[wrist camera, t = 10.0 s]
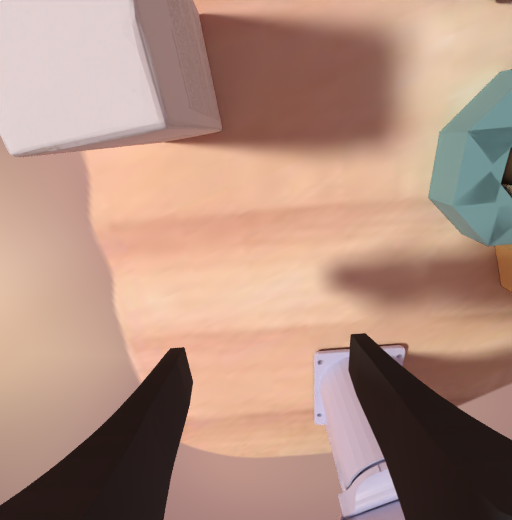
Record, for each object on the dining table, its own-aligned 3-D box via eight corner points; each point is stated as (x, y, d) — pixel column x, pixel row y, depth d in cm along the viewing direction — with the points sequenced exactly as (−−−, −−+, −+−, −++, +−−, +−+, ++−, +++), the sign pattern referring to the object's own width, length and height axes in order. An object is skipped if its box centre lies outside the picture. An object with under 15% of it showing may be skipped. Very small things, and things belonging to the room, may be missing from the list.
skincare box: (124, 28, 15) (-225, -268, 4) (199, 11, 15) (46, -357, 4) (159, 146, 17) (3, 162, 6) (224, 133, 17) (176, 127, 6)
